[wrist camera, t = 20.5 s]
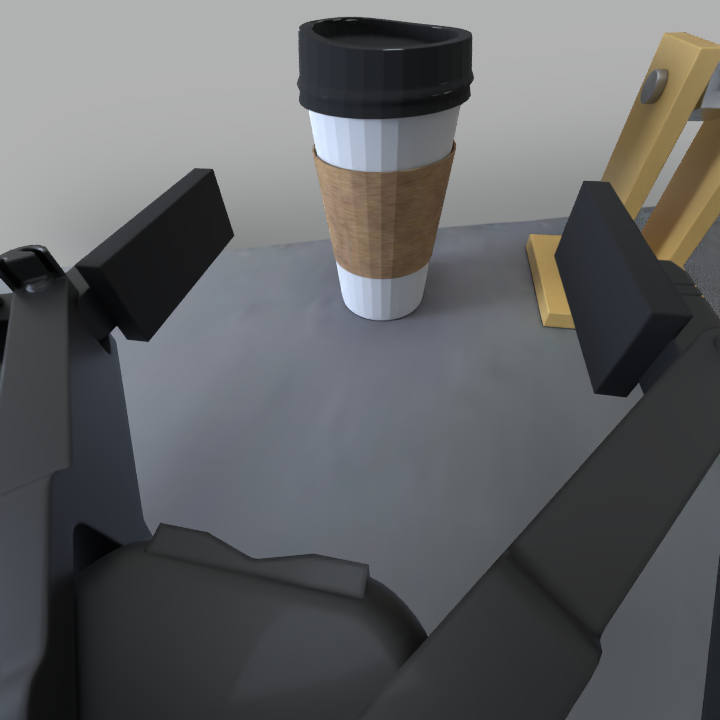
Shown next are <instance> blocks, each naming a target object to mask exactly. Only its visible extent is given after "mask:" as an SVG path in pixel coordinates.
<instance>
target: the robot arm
mask: <svg viewBox="0 0 720 720" xmlns="http://www.w3.org/2000/svg"><path fill="white" fill-rule="evenodd" d="M233 236H234V234H233V230H232V227H231V224H230V221H229V218H228V215H227V212H226V209H225V205H224V202H223V199H222V196H221V193H220V189H219V186H218V183H217V180H216V177H215V174H214V171H213V169H198V168H194V169H193V170H192V171H191V172H190V173H188V174H187V175H186V176H185V177H183V178H182V179H181V180H180V181H178V182H177V183H176V184H175V185H173V186H172V187H171V188H170V189H168V190H167V191H166V192H165V193H163V194H162V195H161V196H160V197H159V198H157V199H156V200H155V201H154V202H152V203H151V204H150V205H149V206H147V207H146V208H145V209H144V210H142V211H141V212H140V213H139V214H137V215H136V216H135V217H134V218H132V219H131V220H130V221H129V222H127V223H126V224H125V225H124V226H123V227H121V228H120V229H119V230H117V231H116V232H115V233H114V234H113V235H111V236H110V237H109V238H108V239H106V240H105V241H104V242H103V243H101V244H100V245H99V246H98V247H96V248H95V249H94V250H93V251H92V252H90V253H89V254H88V255H87V256H85V257H84V258H83V259H81V260H80V261H79V262H78V263H77V264H75V265H74V267H73V268H72V269H70V270H69V271H68V272H67V273H65V272H64V271H63V270H62V268H61V267H60V266H59V264H58V263H57V262H56V260H55V259H54V258H53V256H52V255H51V254H50V252H49V251H48V250H47V248H46V247H44V246H41V245H29V246H23V247H19V248H16V249H13V250H10V251H8V252H6V253H4V254H2V255H0V278H1V279H2V280H3V281H4V282H5V284H6V285H7V286H8V287H9V288H10V289H11V290H12V291H13V293H8V294H0V720H565V719H566V717H567V715H568V714H569V712H570V711H571V709H572V707H573V706H574V704H575V703H576V701H577V700H578V698H579V696H580V695H581V693H582V692H583V690H584V688H585V687H586V685H587V684H588V682H589V681H590V679H591V677H592V675H593V673H594V671H595V669H596V668H597V666H598V664H599V660H600V657H601V654H602V649H601V644H600V638H601V635H602V633H603V631H604V629H605V627H606V626H607V624H608V622H609V621H610V619H611V618H612V616H613V615H614V613H615V612H616V610H617V609H618V607H619V606H620V604H621V603H622V601H623V600H624V598H625V597H626V595H627V593H628V592H629V590H630V589H631V587H632V586H633V584H634V583H635V581H636V580H637V578H638V577H639V575H640V574H641V572H642V571H643V569H644V568H645V566H646V564H647V563H648V561H649V560H650V558H651V557H652V555H653V554H654V552H655V551H656V549H657V548H658V546H659V545H660V543H661V542H662V540H663V539H664V537H665V536H666V534H667V532H668V531H669V529H670V528H671V526H672V525H673V523H674V522H675V520H676V519H677V517H678V516H679V514H680V513H681V511H682V510H683V508H684V507H685V505H686V503H687V502H688V500H689V499H690V497H691V496H692V494H693V493H694V491H695V490H696V488H697V487H698V485H699V484H700V482H701V481H702V479H703V478H704V476H705V475H706V473H707V471H708V470H709V468H710V467H711V465H712V464H713V462H714V461H715V459H716V458H717V456H718V455H719V453H720V319H719V318H718V316H717V315H716V314H715V312H714V311H713V309H712V308H711V306H710V305H709V303H708V302H707V301H706V299H705V298H704V297H702V293H701V292H700V290H699V289H698V288H697V287H695V283H694V282H693V280H692V279H691V277H690V276H689V275H688V273H687V272H686V271H685V270H683V269H682V268H681V267H679V266H678V265H676V264H675V263H674V262H672V261H671V260H658V259H657V257H656V256H655V254H654V253H653V251H652V249H651V248H650V246H649V245H648V243H647V241H646V240H645V238H644V237H643V235H642V233H641V232H640V230H639V229H638V227H637V225H636V224H635V222H634V221H633V219H632V217H631V216H630V214H629V213H628V211H627V209H626V208H625V206H624V205H623V203H622V201H621V200H620V198H619V197H618V195H617V193H616V192H615V190H614V189H613V187H612V186H611V184H610V182H601V181H583V184H582V186H581V189H580V191H579V194H578V196H577V199H576V201H575V204H574V207H573V209H572V212H571V214H570V216H569V219H568V222H567V224H566V227H565V229H564V232H563V234H562V237H561V239H560V242H559V244H558V247H557V249H556V252H555V254H554V257H555V261H556V264H557V268H558V271H559V275H560V278H561V281H562V285H563V288H564V292H565V295H566V298H567V302H568V305H569V309H570V312H571V315H572V319H573V322H574V326H575V329H576V332H577V336H578V339H579V343H580V346H581V349H582V353H583V356H584V360H585V363H586V367H587V370H588V373H589V377H590V380H591V384H592V387H593V390H594V394H602V395H611V396H619V397H627V396H628V395H629V394H630V392H631V391H632V390H633V389H634V388H635V386H636V385H637V384H638V383H639V384H640V386H641V388H642V391H643V393H644V396H643V397H642V398H641V399H640V400H639V401H638V403H637V404H636V405H635V406H634V407H633V408H632V409H631V410H630V411H629V413H628V414H627V415H626V416H625V417H624V418H623V419H622V420H621V422H620V423H619V424H618V425H617V426H616V427H615V428H614V429H613V431H612V432H611V433H610V434H609V435H608V436H607V437H606V438H605V440H604V441H603V442H602V443H601V444H600V445H599V446H598V447H597V449H596V450H595V451H594V452H593V453H592V454H591V455H590V456H589V457H588V459H587V460H586V461H585V462H584V463H583V464H582V465H581V466H580V468H579V469H578V470H577V471H576V472H575V473H574V474H573V475H572V477H571V478H570V479H569V480H568V481H567V482H566V483H565V484H564V486H563V487H562V488H561V489H560V490H559V491H558V492H557V493H556V495H555V496H554V497H553V498H552V499H551V500H550V501H549V502H548V503H547V505H546V506H545V507H544V508H543V509H542V510H541V511H540V512H539V514H538V515H537V516H536V517H535V518H534V519H533V520H532V521H531V523H530V524H529V525H528V526H527V527H526V528H525V529H524V530H523V532H522V533H521V534H520V535H519V536H518V537H517V538H516V539H515V540H514V542H513V543H512V544H511V545H510V546H509V547H508V548H507V549H506V550H505V552H504V553H503V554H502V555H501V556H500V557H499V558H498V559H497V560H496V562H495V563H494V564H493V565H492V566H491V567H490V568H489V569H488V570H487V572H486V573H485V574H484V575H483V576H482V577H481V578H480V579H479V581H478V582H477V583H476V584H475V585H474V586H473V587H472V588H471V590H470V591H469V592H468V593H467V594H466V595H465V596H464V597H463V599H462V600H461V601H460V602H459V603H458V604H457V605H456V606H455V607H454V609H453V610H452V611H451V612H450V613H449V614H448V615H447V616H446V618H445V619H444V620H443V621H442V622H441V623H440V624H439V625H438V627H437V628H436V629H435V630H434V631H433V632H432V633H431V634H430V636H429V637H428V636H427V634H426V632H425V630H424V628H423V627H422V625H421V624H420V622H419V621H418V619H417V618H416V616H415V615H414V614H413V612H412V611H411V610H410V609H409V607H408V606H407V605H406V604H405V603H404V602H403V601H402V600H401V599H400V598H399V597H398V596H397V595H396V594H395V593H394V592H393V591H391V590H390V589H389V588H387V587H386V586H385V585H383V584H382V583H380V582H379V581H377V580H375V579H373V578H372V577H370V573H369V565H367V564H362V563H357V562H352V561H347V560H342V559H337V558H332V557H327V556H322V555H317V554H307V555H296V556H285V557H274V558H263V559H254V558H251V557H249V556H247V555H246V554H244V553H242V552H240V551H239V550H237V549H235V548H234V547H232V546H230V545H228V544H227V543H225V542H223V541H222V540H220V539H218V538H216V537H215V536H213V535H211V534H210V533H208V532H203V531H198V530H193V529H188V528H183V527H178V526H173V525H168V524H163V523H160V524H159V526H158V528H157V530H156V532H155V534H154V536H152V534H151V532H150V531H149V529H148V527H147V526H146V524H145V521H144V518H143V513H142V507H141V500H140V494H139V487H138V481H137V474H136V468H135V461H134V455H133V448H132V442H131V435H130V429H129V422H128V416H127V409H126V403H125V396H124V390H123V383H122V377H121V370H120V364H119V357H118V351H117V344H116V341H115V339H114V338H113V336H112V335H111V334H110V332H111V331H112V330H113V329H114V328H115V327H116V326H118V327H119V329H120V330H121V332H122V333H123V334H124V336H125V337H126V339H127V340H136V341H145V342H149V340H150V339H151V338H152V337H153V336H154V334H155V333H156V332H157V331H158V329H159V328H160V327H161V326H162V324H163V323H164V322H165V321H166V319H167V318H168V317H169V316H170V315H171V313H172V312H173V311H174V310H175V308H176V307H177V306H178V305H179V303H180V302H181V301H182V300H183V298H184V297H185V296H186V295H187V293H188V292H189V291H190V290H191V289H192V287H193V286H194V285H195V284H196V282H197V281H198V280H199V279H200V277H201V276H202V275H203V274H204V272H205V271H206V270H207V269H208V268H209V266H210V265H211V264H212V263H213V261H214V260H215V259H216V258H217V256H218V255H219V254H220V253H221V251H222V250H223V249H224V247H225V246H226V245H227V244H228V243H229V242H230V240H231V239H232V238H233ZM701 720H720V557H719V566H718V575H717V584H716V592H715V601H714V610H713V619H712V628H711V637H710V646H709V655H708V664H707V673H706V682H705V691H704V700H703V709H702V718H701Z"/></svg>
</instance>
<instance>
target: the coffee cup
mask: <svg viewBox="0 0 720 720" xmlns="http://www.w3.org/2000/svg"><path fill="white" fill-rule="evenodd" d="M299 70H300V76H299V79H298V82H297V86H298V88H299V90H300V96H299V102H300V104H301V105H302V106H303V107H304V108H306V109H308V110H309V115H310V120H311V125H312V131H313V137H314V142H315V144H314V146H313V156H314V161H315V166H316V171H317V175H318V179H319V184H320V190H321V194H322V199H323V203H324V208H325V213H326V218H327V223H328V227H329V232H330V237H331V242H332V246H333V251H334V256H335V259H336V263H337V269H338V274H339V280H340V285H341V291H342V296H343V299H344V303H345V304H346V306H347V307H348V308H349V309H350V310H351V311H352V312H354V313H355V314H357V315H359V316H361V317H364V318H367V319H372V320H392V319H398V318H401V317H404V316H406V315H408V314H410V313H411V312H413V311H414V310H415V309H416V308H417V307H418V306H419V304H420V303H421V300H422V297H423V292H424V287H425V282H426V277H427V272H428V267H429V262H430V258H431V256H432V251H433V247H434V242H435V238H436V233H437V229H438V225H439V220H440V216H441V211H442V207H443V203H444V198H445V194H446V189H447V185H448V181H449V176H450V172H451V167H452V163H453V159H454V154H455V150H456V143H455V141H454V135H455V130H456V125H457V120H458V115H459V109H460V105H461V104H463V103H464V102H466V101H467V100H468V99H469V97H470V96H471V94H470V84H471V83H472V81H473V79H474V76H473V72H472V34H471V32H469V31H467V30H463V29H460V28H453V27H445V26H437V25H427V24H418V23H408V22H401V21H393V20H385V19H375V18H363V17H337V18H328V19H321V20H315V21H310V22H306V23H304V24H302V25H301V26H300V27H299Z"/></svg>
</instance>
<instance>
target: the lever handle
mask: <svg viewBox="0 0 720 720" xmlns="http://www.w3.org/2000/svg"><path fill="white" fill-rule="evenodd" d="M719 118H720V61H719V63H718V65H717V67H716V69H715V71H714V73H713V74H712V76H711V78H710V80H709V82H708V84H707V86H706V88H705V89H704V91H703V93H702V95H701V97H700V99H699V101H698V102H697V104H696V106H695V108H694V110H693V112H692V114H691V115H690V117H689V119H688V121H712V120H716V119H719Z"/></svg>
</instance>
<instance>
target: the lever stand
mask: <svg viewBox="0 0 720 720" xmlns="http://www.w3.org/2000/svg"><path fill="white" fill-rule="evenodd" d="M719 61H720V45H719V44H716V43H713V42H710V41H707V40H705V39H702V38H699V37H697V36H694V35H691V34H688V33H685V32H680V33H664V35H663V37H662V39H661V42H660V44H659V46H658V49H657V51H656V53H655V56H654V58H653V60H652V63H651V65H650V67H649V70H648V72H647V75H646V77H645V79H644V82H643V84H642V86H641V88H640V91H639V93H638V95H637V98H636V100H635V102H634V105H633V107H632V109H631V112H630V114H629V116H628V119H627V121H626V123H625V126H624V128H623V130H622V133H621V135H620V137H619V140H618V142H617V144H616V147H615V149H614V151H613V154H612V156H611V158H610V161H609V163H608V165H607V167H606V170H605V172H604V174H603V177H602V179H601V182H610V184H611V186H612V187H613V189H614V190H615V192H616V193H617V195H618V197H619V198H620V200H621V201H622V203H623V205H624V206H625V208H626V209H627V211H628V213H629V214H630V216H631V217H632V219H633V221H634V220H635V218H636V216H637V214H638V213H639V211H640V209H641V207H642V205H643V203H644V201H645V199H646V197H647V196H648V194H649V192H650V190H651V188H652V186H653V184H654V183H655V181H656V179H657V177H658V175H659V173H660V171H661V170H662V168H663V166H664V164H665V162H666V160H667V158H668V157H669V155H670V153H671V151H672V149H673V147H674V145H675V143H676V142H677V140H678V138H679V136H680V134H681V132H682V130H683V128H684V126H685V125H686V123H687V121H688V119H689V117H690V115H691V114H692V112H693V110H694V108H695V106H696V104H697V102H698V101H699V99H700V97H701V95H702V93H703V91H704V89H705V88H706V86H707V84H708V82H709V80H710V78H711V76H712V74H713V73H714V71H715V69H716V67H717V65H718V63H719ZM719 214H720V118H719V119H716V120H712V121H704V122H703V124H702V126H701V127H700V129H699V131H698V133H697V135H696V137H695V138H694V140H693V142H692V143H691V145H690V147H689V149H688V151H687V152H686V154H685V156H684V158H683V159H682V161H681V163H680V165H679V166H678V168H677V170H676V172H675V173H674V175H673V177H672V179H671V181H670V182H669V184H668V186H667V188H666V190H665V191H664V193H663V195H662V197H661V199H660V200H659V202H658V204H657V205H656V207H655V209H654V211H653V212H652V214H651V216H650V218H649V219H648V221H647V223H646V225H645V227H644V228H643V230H642V232H641V233H642V235H643V237H644V238H645V240H646V241H647V243H648V245H649V246H650V248H651V249H652V251H653V253H654V254H655V256H656V257H657V259H658V260H671V261H672V262H674V263H675V264H676V265H678V266H679V267H681V268H682V269H683V270H685V269H684V268H683V265H684V264H685V262H686V261H687V260H688V258H689V257H690V255H691V254H692V252H693V251H694V250H695V248H696V247H697V245H698V244H699V243H700V241H701V240H702V238H703V237H704V236H705V234H706V233H707V231H708V230H709V228H710V227H711V226H712V224H713V223H714V221H715V220H716V219H717V217H718V216H719ZM561 237H562V236H558V235H539V234H530V235H529V238H528V241H527V244H526V249H527V254H528V258H529V263H530V268H531V272H532V277H533V281H534V286H535V291H536V295H537V300H538V304H539V309H540V314H541V318H542V323H543V326H550V327H561V328H573V329H575V326H574V322H573V319H572V315H571V312H570V309H569V305H568V302H567V298H566V295H565V292H564V288H563V285H562V281H561V278H560V275H559V271H558V268H557V264H556V261H555V257H554V254H555V252H556V249H557V247H558V244H559V242H560V239H561ZM695 287H697V286H696V285H695ZM702 297H704V296H703V295H702ZM715 314H716V313H715Z"/></svg>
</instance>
